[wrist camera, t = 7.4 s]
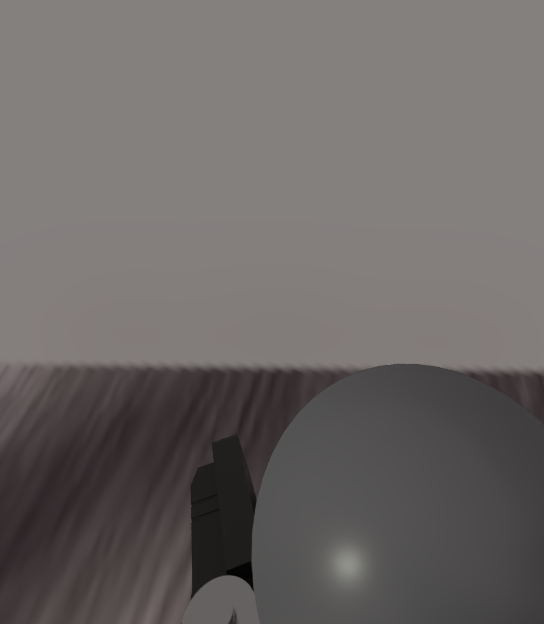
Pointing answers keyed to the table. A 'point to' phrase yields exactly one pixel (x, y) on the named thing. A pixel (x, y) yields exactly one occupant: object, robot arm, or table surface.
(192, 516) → the robot arm
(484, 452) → the grey and white cylinder
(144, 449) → the table surface
